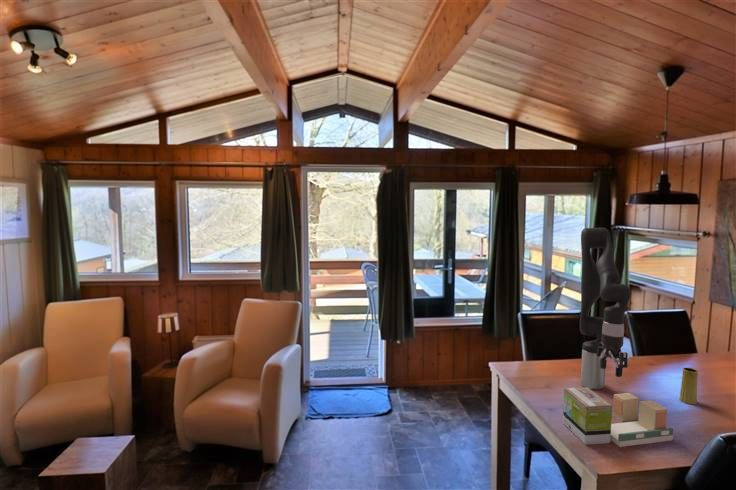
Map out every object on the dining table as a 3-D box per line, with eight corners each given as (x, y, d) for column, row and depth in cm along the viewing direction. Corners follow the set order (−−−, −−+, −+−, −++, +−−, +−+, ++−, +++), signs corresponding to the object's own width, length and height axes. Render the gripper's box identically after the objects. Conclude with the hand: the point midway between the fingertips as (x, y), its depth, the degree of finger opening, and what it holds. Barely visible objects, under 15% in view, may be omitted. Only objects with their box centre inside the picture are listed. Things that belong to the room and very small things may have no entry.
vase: (693, 399, 184) (695, 368, 183) (699, 405, 178) (701, 373, 177) (677, 397, 186) (679, 366, 185) (682, 403, 180) (684, 371, 179)
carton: (637, 420, 166) (638, 398, 166) (621, 421, 165) (622, 399, 164) (627, 413, 171) (628, 392, 170) (612, 415, 170) (613, 394, 169)
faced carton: (649, 422, 160) (650, 400, 159) (666, 432, 153) (667, 409, 152) (638, 424, 159) (639, 401, 158) (654, 434, 152) (656, 410, 151)
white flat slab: (647, 424, 162) (647, 414, 162) (672, 440, 152) (673, 429, 151) (597, 430, 158) (597, 419, 158) (620, 447, 147) (620, 435, 147)
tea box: (561, 423, 164) (563, 387, 162) (586, 422, 165) (587, 386, 163) (584, 445, 149) (586, 405, 147) (611, 444, 150) (613, 404, 148)
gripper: (635, 338, 161) (632, 379, 162) (608, 327, 175) (606, 365, 176) (617, 339, 160) (615, 380, 161) (592, 328, 174) (590, 366, 175)
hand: (610, 372), depth 169 cm, fingers open, 8 cm apart
